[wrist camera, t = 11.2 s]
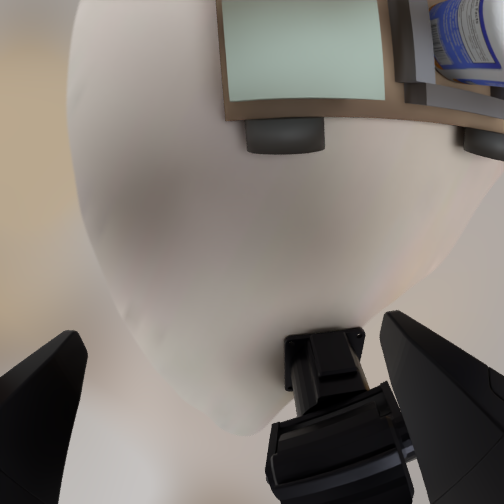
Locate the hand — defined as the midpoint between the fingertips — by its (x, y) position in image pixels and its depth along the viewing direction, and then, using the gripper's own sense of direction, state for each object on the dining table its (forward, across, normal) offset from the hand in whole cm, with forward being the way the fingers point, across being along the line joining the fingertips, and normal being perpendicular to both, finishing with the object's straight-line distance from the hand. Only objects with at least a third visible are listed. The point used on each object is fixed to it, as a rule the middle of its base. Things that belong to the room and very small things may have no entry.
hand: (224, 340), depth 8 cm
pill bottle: (+11, -14, -10) cm, 20 cm away
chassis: (+12, -10, -10) cm, 19 cm away
